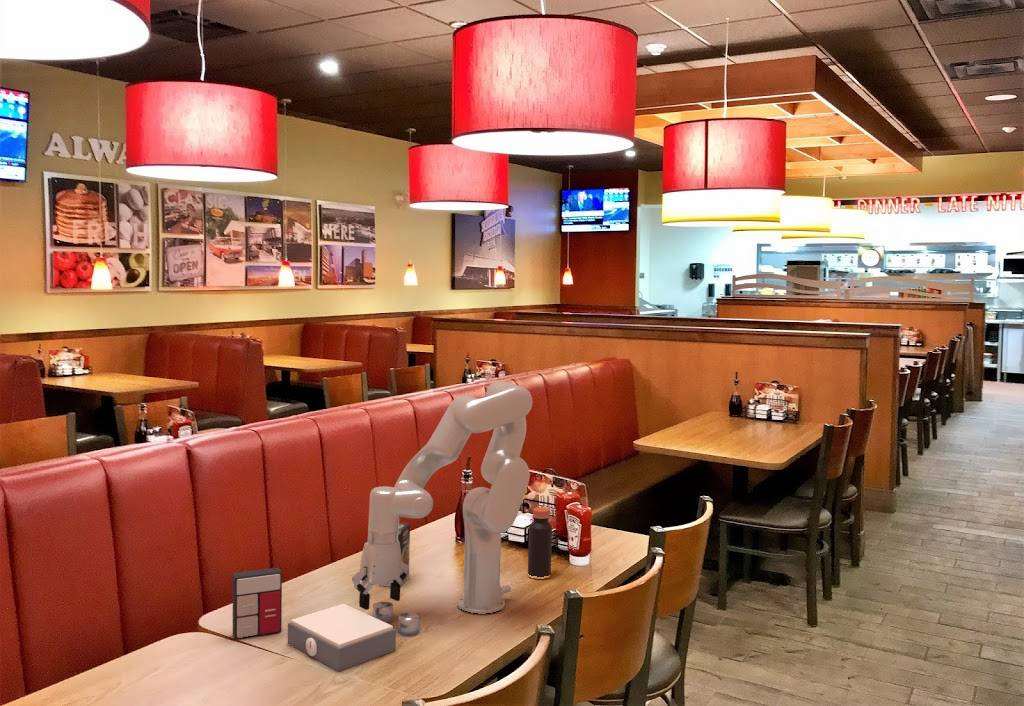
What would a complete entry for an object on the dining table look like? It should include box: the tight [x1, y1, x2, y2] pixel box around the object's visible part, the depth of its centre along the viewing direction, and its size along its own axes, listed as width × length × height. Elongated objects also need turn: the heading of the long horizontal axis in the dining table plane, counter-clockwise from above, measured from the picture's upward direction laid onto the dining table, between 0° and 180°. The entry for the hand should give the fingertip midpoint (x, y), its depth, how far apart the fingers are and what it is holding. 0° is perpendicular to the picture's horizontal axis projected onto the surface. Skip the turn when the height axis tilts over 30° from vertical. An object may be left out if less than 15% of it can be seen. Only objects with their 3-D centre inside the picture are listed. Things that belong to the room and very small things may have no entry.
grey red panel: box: [231, 567, 283, 639], centre depth 208 cm, size 11×4×15 cm, turn 117°
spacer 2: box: [397, 612, 420, 637], centre depth 212 cm, size 5×5×4 cm
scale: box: [287, 603, 397, 672], centre depth 202 cm, size 17×20×6 cm
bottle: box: [527, 506, 553, 577], centre depth 254 cm, size 7×7×20 cm
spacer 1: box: [372, 601, 394, 625], centre depth 219 cm, size 5×5×4 cm
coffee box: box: [378, 522, 411, 587], centre depth 247 cm, size 9×6×16 cm
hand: (379, 603), depth 218 cm, fingers open, 9 cm apart
